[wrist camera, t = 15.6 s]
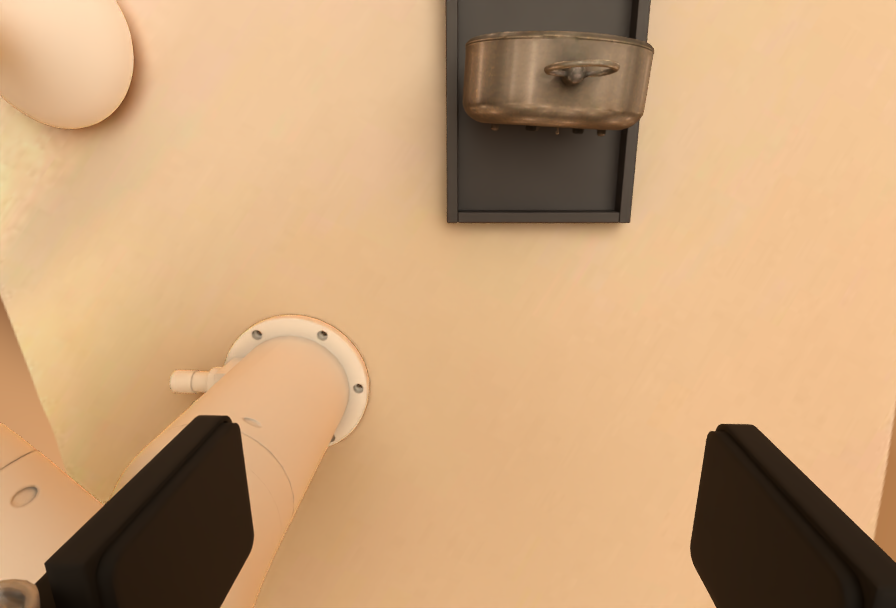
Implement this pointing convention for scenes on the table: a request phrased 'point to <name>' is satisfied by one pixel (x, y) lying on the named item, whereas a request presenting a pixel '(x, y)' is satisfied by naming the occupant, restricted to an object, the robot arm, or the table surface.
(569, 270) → the table surface
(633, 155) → the tray
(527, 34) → the alarm clock
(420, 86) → the table surface
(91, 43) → the flower in vase
